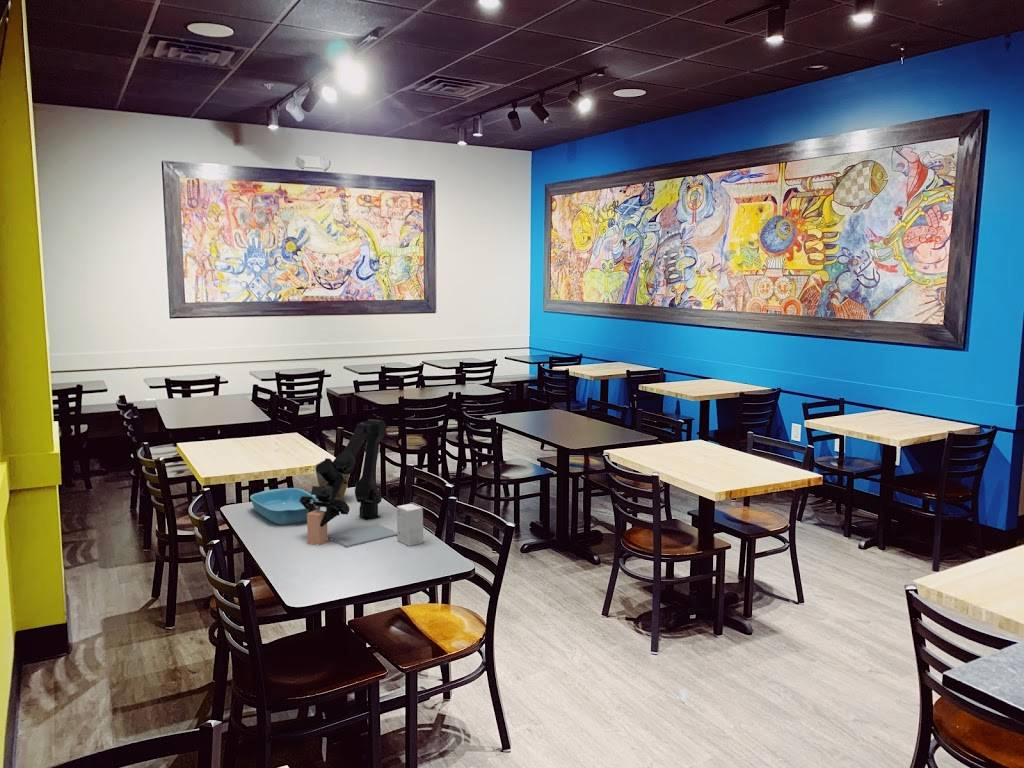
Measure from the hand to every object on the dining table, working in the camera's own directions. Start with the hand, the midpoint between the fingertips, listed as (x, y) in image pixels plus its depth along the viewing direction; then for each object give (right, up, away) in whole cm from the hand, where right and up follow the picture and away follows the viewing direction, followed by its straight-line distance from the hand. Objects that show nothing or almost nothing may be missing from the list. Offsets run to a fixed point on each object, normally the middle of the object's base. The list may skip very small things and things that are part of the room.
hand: (314, 525), depth 280 cm
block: (0, -6, +2) cm, 7 cm away
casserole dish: (-21, -3, +36) cm, 42 cm away
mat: (+15, -6, +9) cm, 19 cm away
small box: (+34, -7, +3) cm, 35 cm away
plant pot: (-6, 0, +55) cm, 56 cm away
